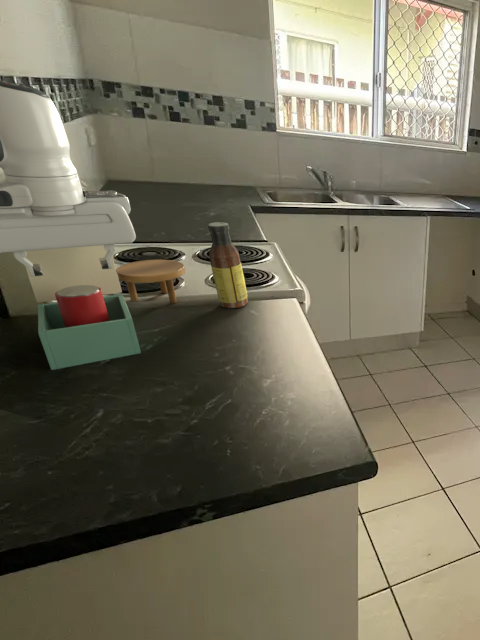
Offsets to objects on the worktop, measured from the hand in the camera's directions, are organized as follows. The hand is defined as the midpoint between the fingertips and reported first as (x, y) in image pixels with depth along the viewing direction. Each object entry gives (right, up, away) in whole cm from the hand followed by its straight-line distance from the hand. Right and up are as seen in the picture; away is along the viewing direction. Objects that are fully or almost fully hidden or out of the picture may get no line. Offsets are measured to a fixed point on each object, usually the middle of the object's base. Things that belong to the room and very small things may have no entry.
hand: (73, 271), depth 84 cm
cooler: (-2, -14, +7) cm, 16 cm away
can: (-2, -13, +6) cm, 15 cm away
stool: (-7, -2, +30) cm, 31 cm away
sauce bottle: (+11, -4, +31) cm, 33 cm away
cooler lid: (-5, +3, +5) cm, 8 cm away
